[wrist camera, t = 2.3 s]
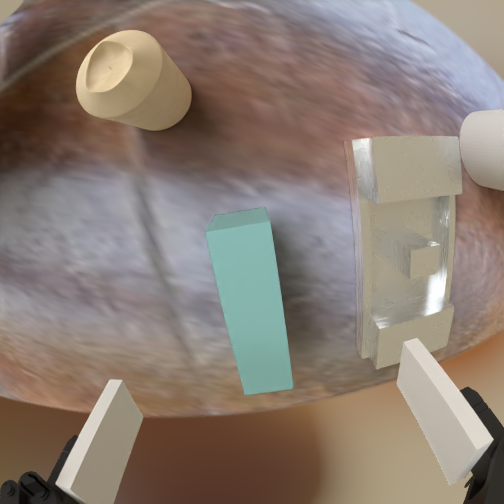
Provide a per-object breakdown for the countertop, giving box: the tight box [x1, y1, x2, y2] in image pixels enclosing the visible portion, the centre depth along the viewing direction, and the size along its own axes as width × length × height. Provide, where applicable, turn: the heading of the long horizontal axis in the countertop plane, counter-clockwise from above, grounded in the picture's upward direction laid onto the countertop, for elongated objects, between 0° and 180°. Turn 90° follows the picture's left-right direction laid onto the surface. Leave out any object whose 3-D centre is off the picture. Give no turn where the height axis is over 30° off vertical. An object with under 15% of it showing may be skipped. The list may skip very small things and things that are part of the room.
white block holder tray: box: [343, 136, 462, 370], centre depth 22 cm, size 20×10×4 cm, turn 10°
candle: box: [76, 30, 192, 131], centre depth 15 cm, size 6×6×10 cm
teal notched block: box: [205, 207, 294, 395], centre depth 21 cm, size 12×4×8 cm, turn 10°
